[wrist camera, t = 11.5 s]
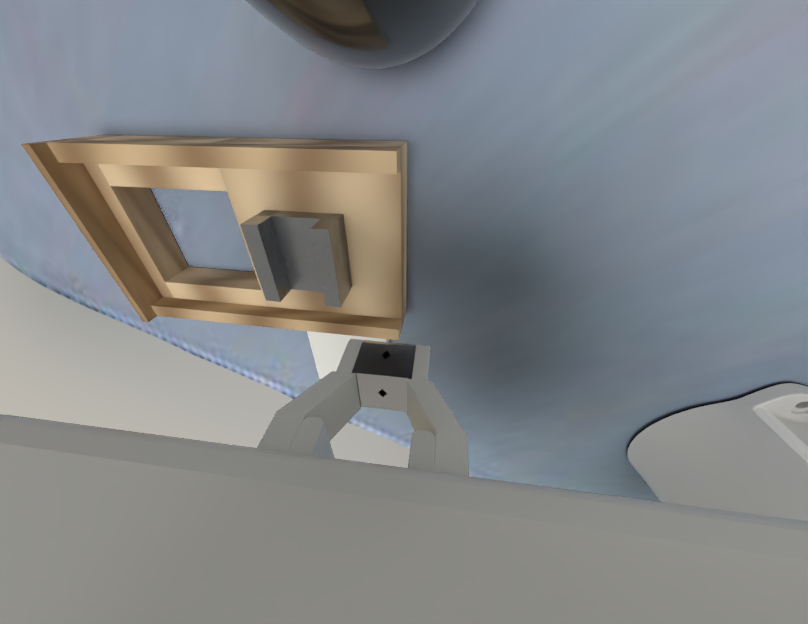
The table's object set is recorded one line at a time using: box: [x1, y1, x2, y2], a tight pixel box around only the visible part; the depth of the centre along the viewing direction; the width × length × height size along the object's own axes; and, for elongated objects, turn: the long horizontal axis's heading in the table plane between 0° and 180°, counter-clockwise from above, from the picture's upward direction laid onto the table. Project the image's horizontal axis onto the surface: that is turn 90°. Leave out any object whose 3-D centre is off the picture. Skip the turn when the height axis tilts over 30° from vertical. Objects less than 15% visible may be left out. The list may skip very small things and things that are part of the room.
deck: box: [21, 135, 407, 340], centre depth 20 cm, size 20×12×4 cm, turn 90°
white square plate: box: [307, 331, 389, 379], centre depth 27 cm, size 7×7×1 cm
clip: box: [240, 210, 352, 307], centre depth 18 cm, size 5×5×2 cm
